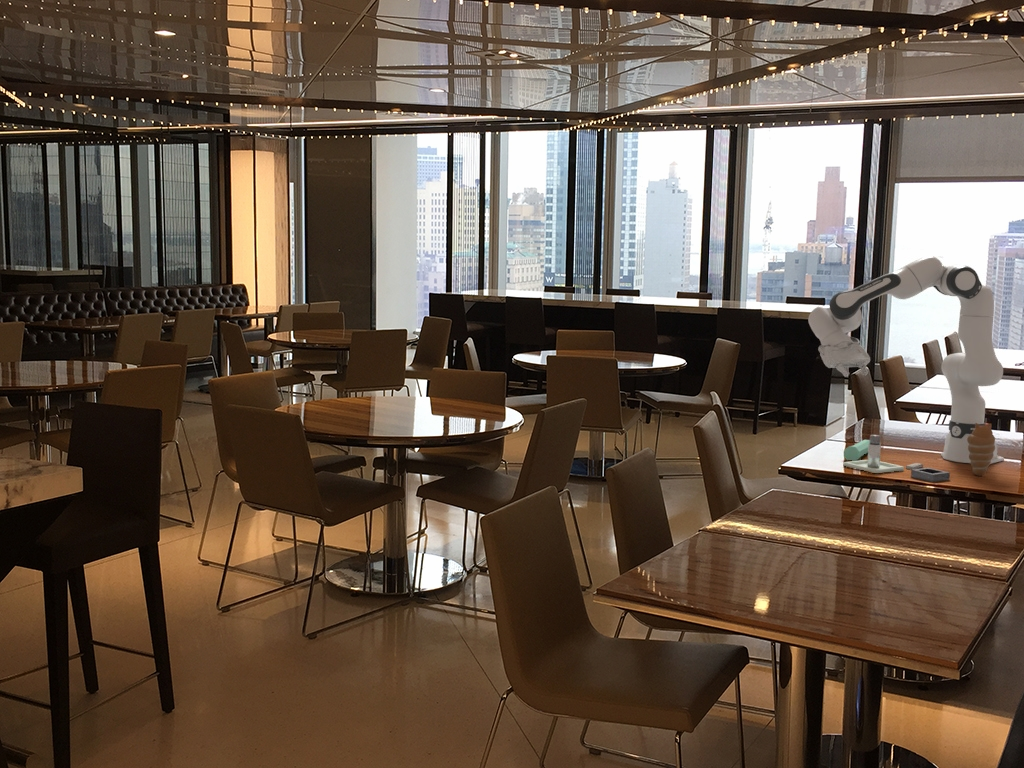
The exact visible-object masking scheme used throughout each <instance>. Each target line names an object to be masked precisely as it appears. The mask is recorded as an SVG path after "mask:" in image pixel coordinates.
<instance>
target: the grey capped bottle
mask: <svg viewBox="0 0 1024 768" xmlns="http://www.w3.org/2000/svg"><path fill="white" fill-rule="evenodd" d="M869 440H870V443H869V446H868V453H867V460H868V462H867V467H869V468H880V461H881V451H882V449H881V447H882V444H881V435H879V434H870V435H869Z"/></svg>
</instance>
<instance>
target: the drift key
mask: <svg viewBox="0 0 1024 768" xmlns="http://www.w3.org/2000/svg"><path fill="white" fill-rule="evenodd" d="M906 468H907V469H906ZM921 468H924V464H923V463H919V462H915V463H914V462H913V463H911V464H910V463H909V464H907V465H906V466H905V469H906V470H910V469H911V470H913V469H921ZM911 470H910V471H911Z"/></svg>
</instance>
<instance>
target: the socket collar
mask: <svg viewBox="0 0 1024 768" xmlns="http://www.w3.org/2000/svg"><path fill="white" fill-rule="evenodd" d="M910 471H911V472H910V478H914V479H916V480H917V479H918V480H923V481H927V482H929V483H936V482H943V481H950V477H951V476H950V475H951V472H949V471H946V470H940V469H936V468H931V467H921V468H918V469H913V470H910Z"/></svg>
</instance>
